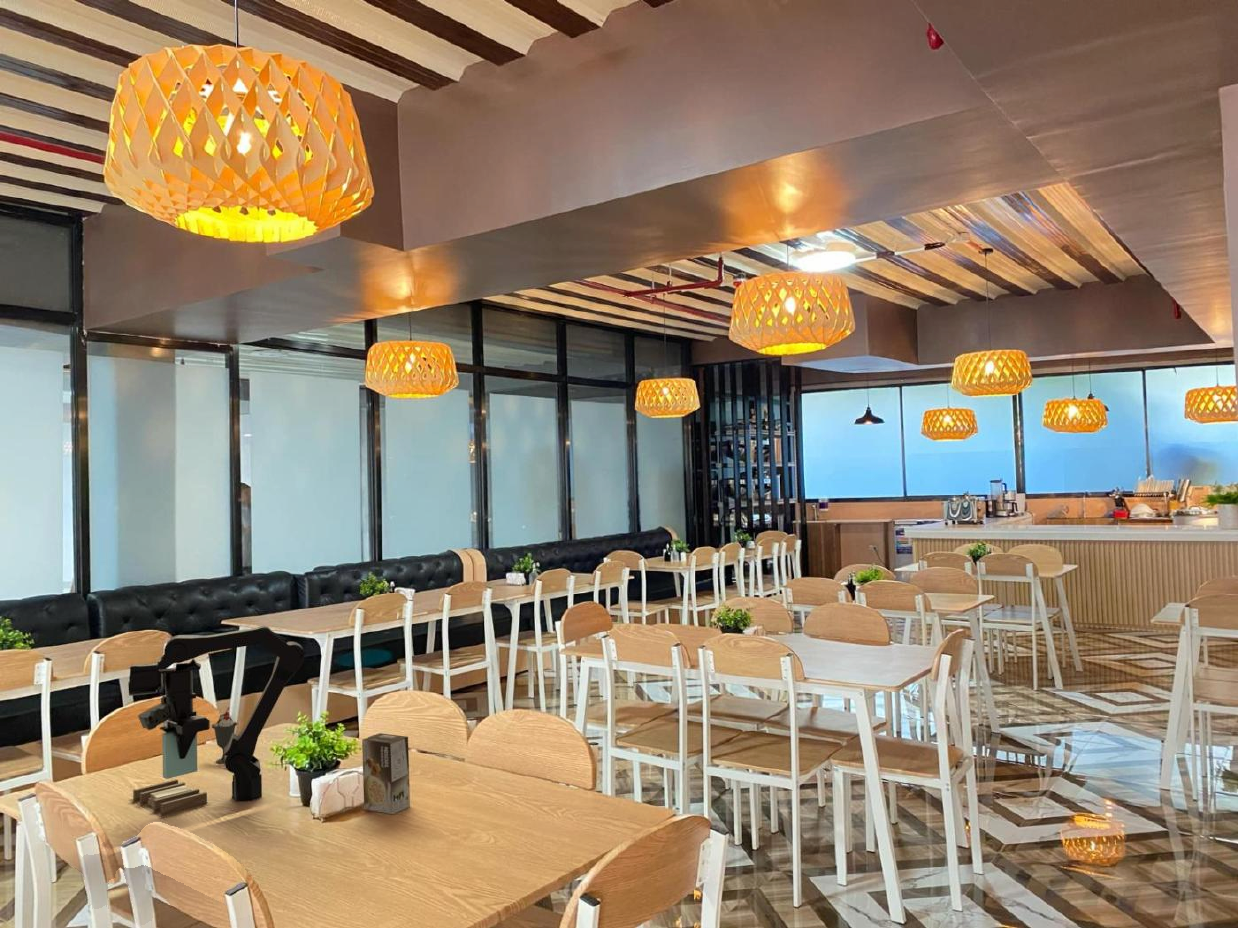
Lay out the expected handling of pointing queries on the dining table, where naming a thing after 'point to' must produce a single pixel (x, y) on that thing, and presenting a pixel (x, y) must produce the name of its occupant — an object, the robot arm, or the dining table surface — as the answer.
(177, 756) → the teal sheet
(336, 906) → the dining table surface
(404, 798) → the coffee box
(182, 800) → the walnut rack
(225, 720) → the sundae
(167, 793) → the offcut stack
